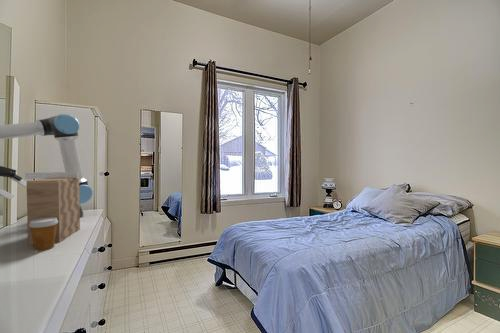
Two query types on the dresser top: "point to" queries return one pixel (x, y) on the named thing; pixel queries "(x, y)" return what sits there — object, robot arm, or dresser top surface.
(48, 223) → the disposable coffee cup
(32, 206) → the walnut shelf
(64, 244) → the dresser top surface
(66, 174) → the steel bar
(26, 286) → the dresser top surface
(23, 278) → the dresser top surface
